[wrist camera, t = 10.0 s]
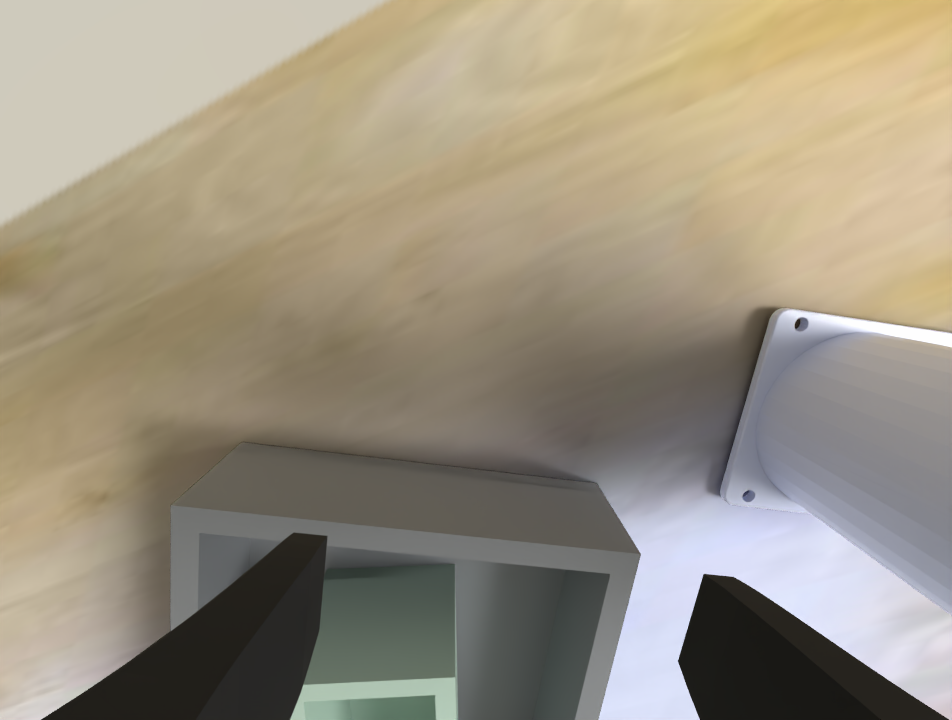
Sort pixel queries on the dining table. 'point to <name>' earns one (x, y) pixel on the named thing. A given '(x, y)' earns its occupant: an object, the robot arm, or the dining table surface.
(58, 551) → the dining table surface
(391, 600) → the box
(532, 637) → the tray
